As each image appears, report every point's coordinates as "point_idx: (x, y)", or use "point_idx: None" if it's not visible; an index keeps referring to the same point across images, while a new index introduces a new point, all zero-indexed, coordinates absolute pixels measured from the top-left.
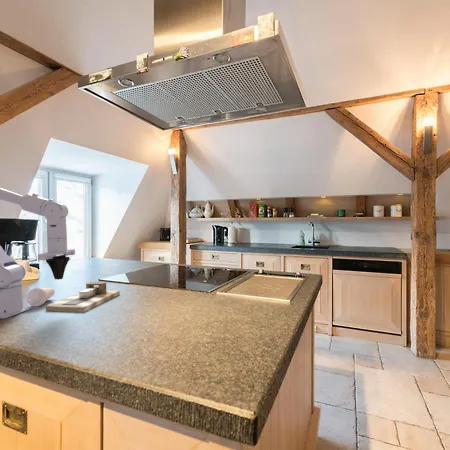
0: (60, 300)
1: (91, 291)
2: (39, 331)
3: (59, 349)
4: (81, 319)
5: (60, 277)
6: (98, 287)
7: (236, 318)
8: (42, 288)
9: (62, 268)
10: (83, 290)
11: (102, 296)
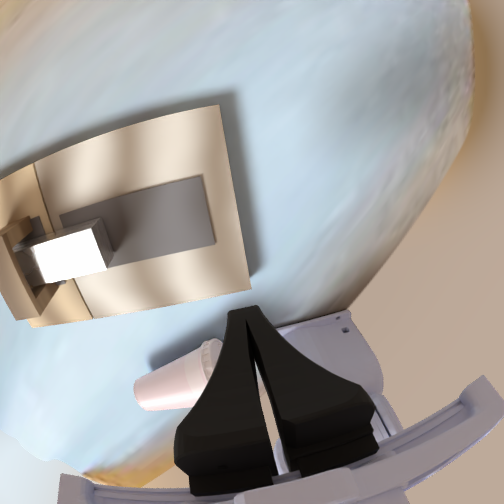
0: (170, 304)
1: (60, 235)
2: (413, 110)
3: (451, 4)
4: (299, 47)
5: (257, 311)
6: (16, 251)
7: None
8: (191, 398)
9: (249, 363)
10: (81, 269)
11: (45, 182)
